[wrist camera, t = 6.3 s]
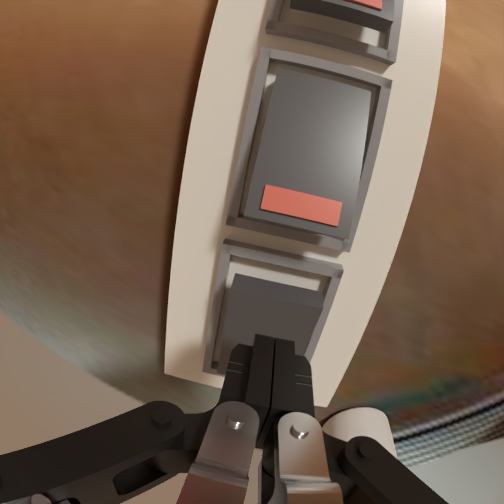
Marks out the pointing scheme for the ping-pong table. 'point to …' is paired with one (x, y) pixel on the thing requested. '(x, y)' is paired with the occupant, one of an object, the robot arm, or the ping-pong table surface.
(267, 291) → the rocker
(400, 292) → the ping-pong table surface
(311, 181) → the rocker
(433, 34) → the switch panel
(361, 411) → the can
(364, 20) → the rocker
